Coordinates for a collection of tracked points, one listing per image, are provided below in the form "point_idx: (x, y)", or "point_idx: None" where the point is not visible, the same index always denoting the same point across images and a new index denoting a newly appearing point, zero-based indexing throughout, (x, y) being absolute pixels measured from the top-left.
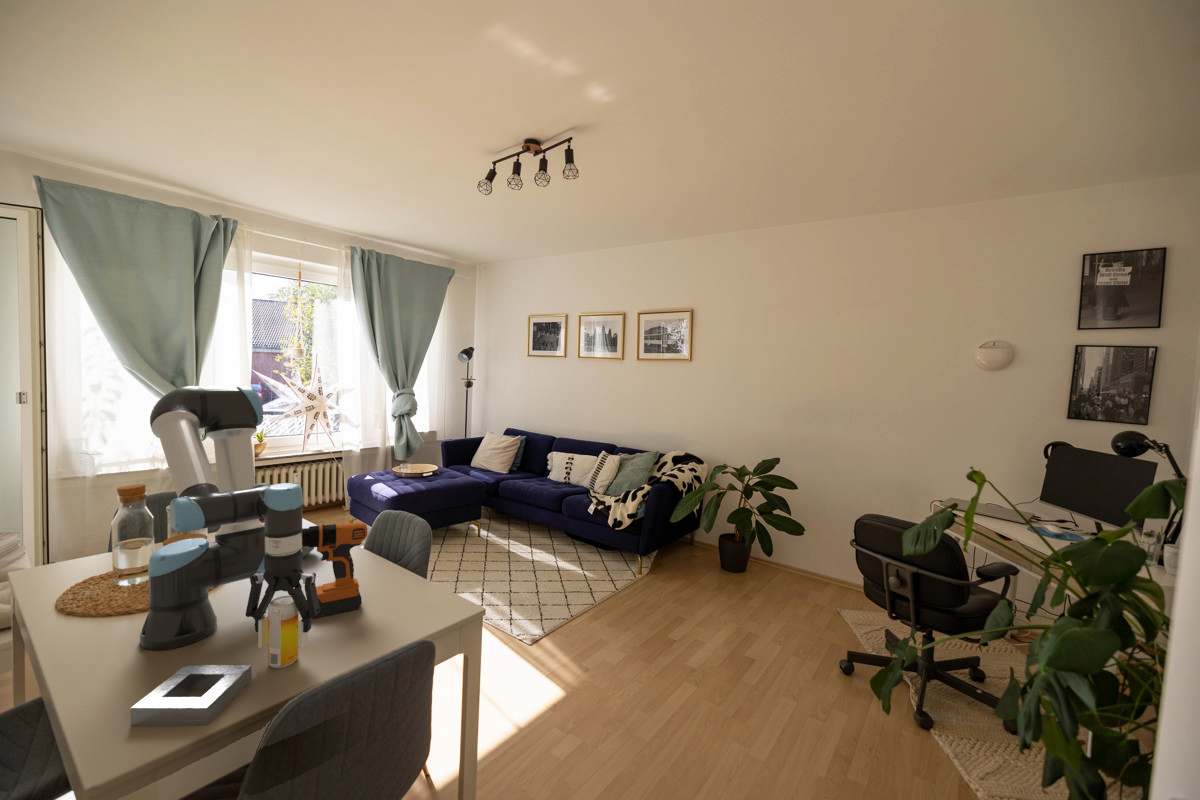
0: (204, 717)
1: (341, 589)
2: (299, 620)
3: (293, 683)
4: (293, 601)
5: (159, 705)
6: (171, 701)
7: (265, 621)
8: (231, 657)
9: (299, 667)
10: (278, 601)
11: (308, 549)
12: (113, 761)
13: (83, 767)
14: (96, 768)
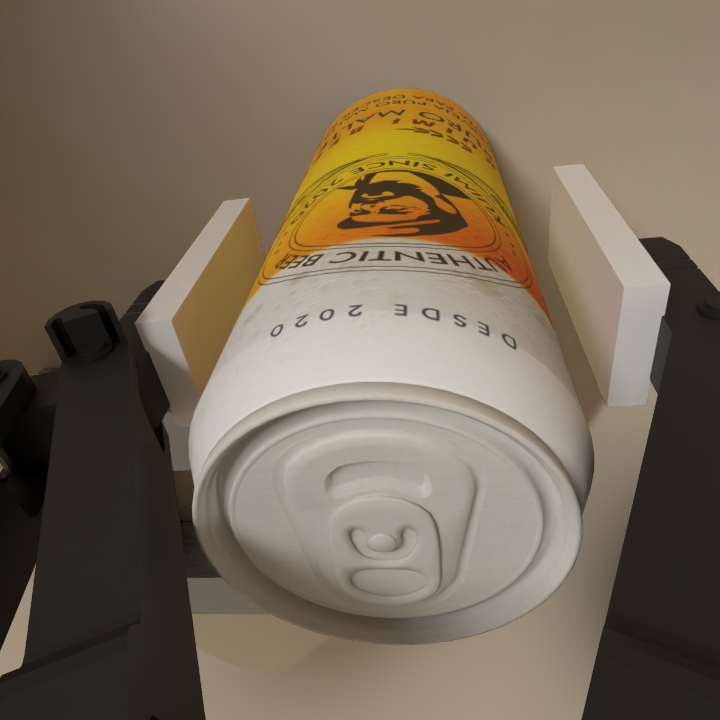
0: None
1: None
2: (614, 400)
3: (579, 355)
4: (542, 514)
5: (203, 606)
6: (220, 592)
7: (204, 343)
8: (39, 164)
9: (542, 221)
10: (297, 522)
11: None
12: (254, 638)
13: (205, 647)
14: (238, 650)
